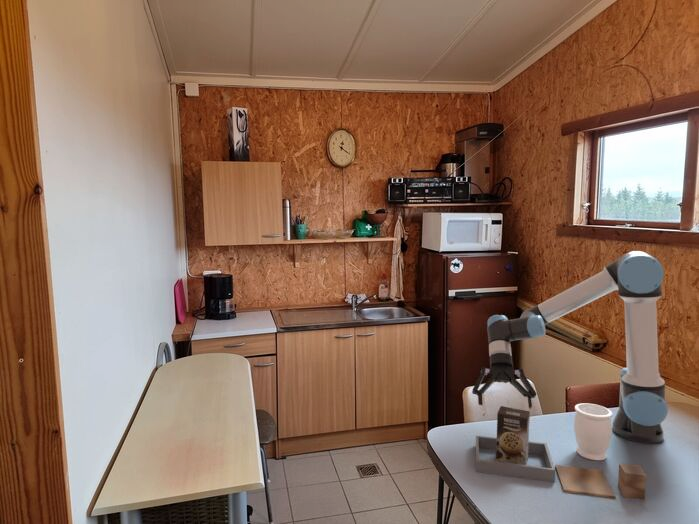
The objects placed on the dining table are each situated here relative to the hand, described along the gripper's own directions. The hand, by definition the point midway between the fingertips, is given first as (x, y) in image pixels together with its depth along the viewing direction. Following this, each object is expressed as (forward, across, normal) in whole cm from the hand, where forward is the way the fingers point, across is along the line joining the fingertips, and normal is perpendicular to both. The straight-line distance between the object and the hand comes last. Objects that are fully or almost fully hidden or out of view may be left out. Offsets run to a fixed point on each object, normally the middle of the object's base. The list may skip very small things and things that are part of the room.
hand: (505, 416), depth 147 cm
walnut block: (+20, -31, +4) cm, 37 cm away
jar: (+6, -27, -11) cm, 30 cm away
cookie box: (+12, -2, -5) cm, 13 cm away
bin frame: (+13, -2, -4) cm, 14 cm away
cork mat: (+18, -20, +1) cm, 27 cm away
